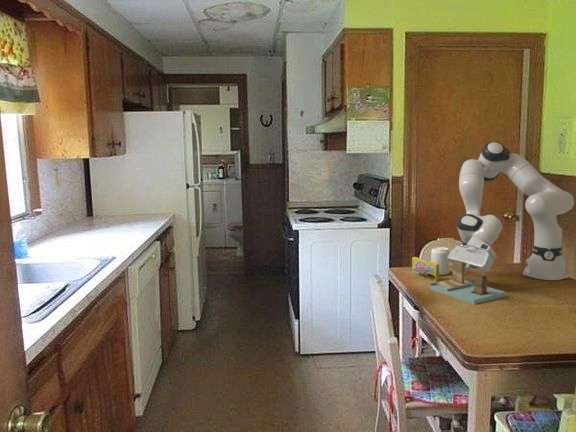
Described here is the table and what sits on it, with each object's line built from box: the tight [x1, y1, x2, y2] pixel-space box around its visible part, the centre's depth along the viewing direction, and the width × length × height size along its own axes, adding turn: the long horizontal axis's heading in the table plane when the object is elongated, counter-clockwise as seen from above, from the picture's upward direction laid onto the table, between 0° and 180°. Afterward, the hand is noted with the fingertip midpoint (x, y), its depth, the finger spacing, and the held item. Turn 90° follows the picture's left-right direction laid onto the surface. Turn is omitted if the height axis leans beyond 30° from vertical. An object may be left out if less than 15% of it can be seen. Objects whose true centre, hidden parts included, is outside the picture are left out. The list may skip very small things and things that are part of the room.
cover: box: [437, 260, 467, 288], centre depth 211 cm, size 9×8×10 cm
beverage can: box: [430, 246, 450, 276], centre depth 239 cm, size 8×8×12 cm
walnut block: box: [473, 272, 488, 295], centre depth 201 cm, size 4×4×9 cm
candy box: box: [411, 256, 440, 283], centre depth 233 cm, size 16×2×8 cm, turn 27°
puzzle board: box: [429, 278, 507, 305], centre depth 207 cm, size 18×23×3 cm
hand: (460, 273), depth 214 cm, fingers closed
